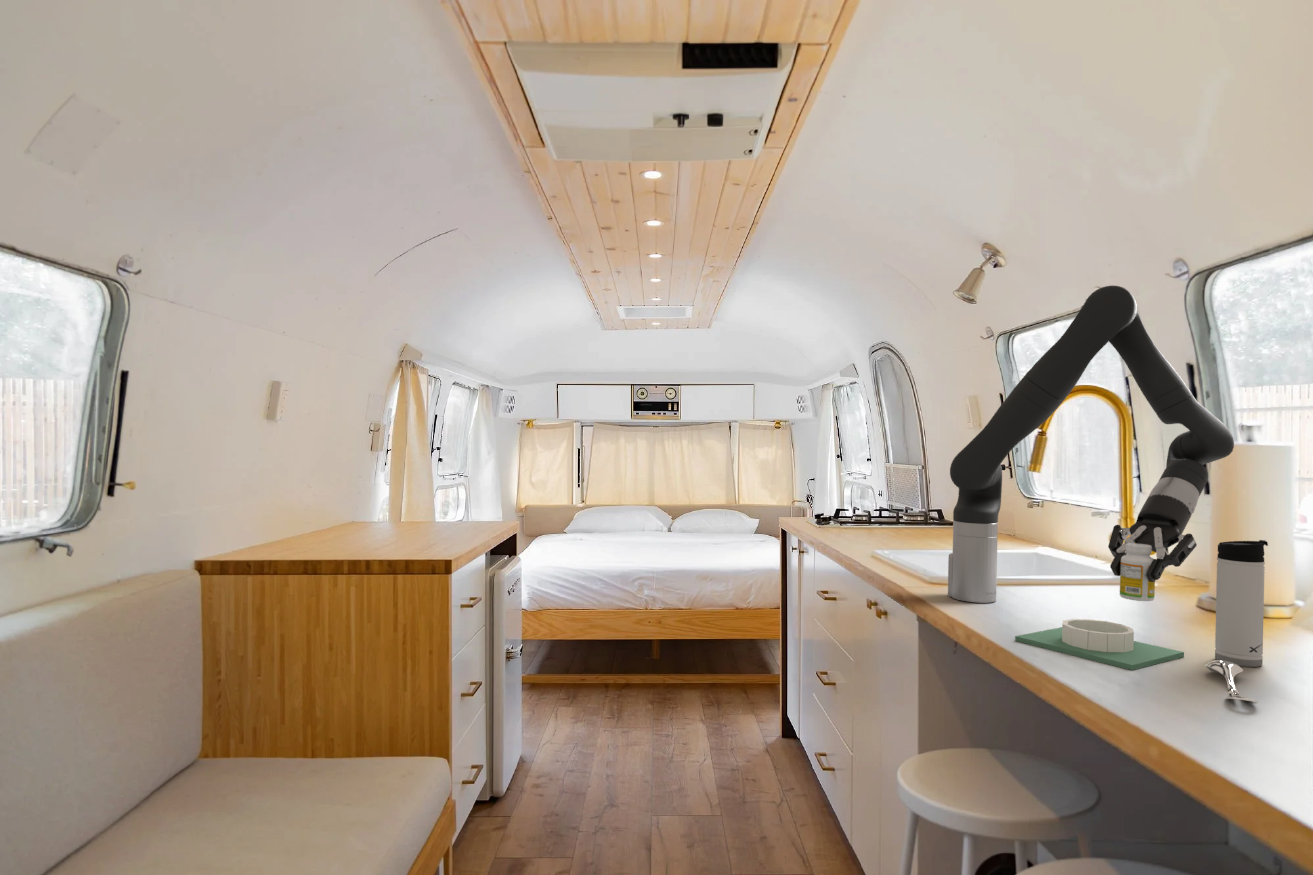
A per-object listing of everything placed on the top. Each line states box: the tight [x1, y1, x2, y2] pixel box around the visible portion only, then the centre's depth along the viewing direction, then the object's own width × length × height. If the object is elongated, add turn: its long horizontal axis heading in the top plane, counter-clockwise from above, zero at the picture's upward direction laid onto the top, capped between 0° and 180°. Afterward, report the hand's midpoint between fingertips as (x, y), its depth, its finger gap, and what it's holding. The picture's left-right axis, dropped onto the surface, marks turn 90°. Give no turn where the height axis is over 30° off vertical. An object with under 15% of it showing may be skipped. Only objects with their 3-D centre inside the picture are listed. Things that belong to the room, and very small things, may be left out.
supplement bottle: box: [1119, 543, 1156, 602], centre depth 143 cm, size 5×5×10 cm
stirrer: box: [1205, 659, 1259, 705], centre depth 114 cm, size 20×4×5 cm
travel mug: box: [1214, 539, 1269, 668], centre depth 129 cm, size 6×7×20 cm
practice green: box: [1014, 618, 1185, 671], centre depth 136 cm, size 20×16×4 cm
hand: (1132, 575), depth 142 cm, fingers closed on supplement bottle, 5 cm apart
